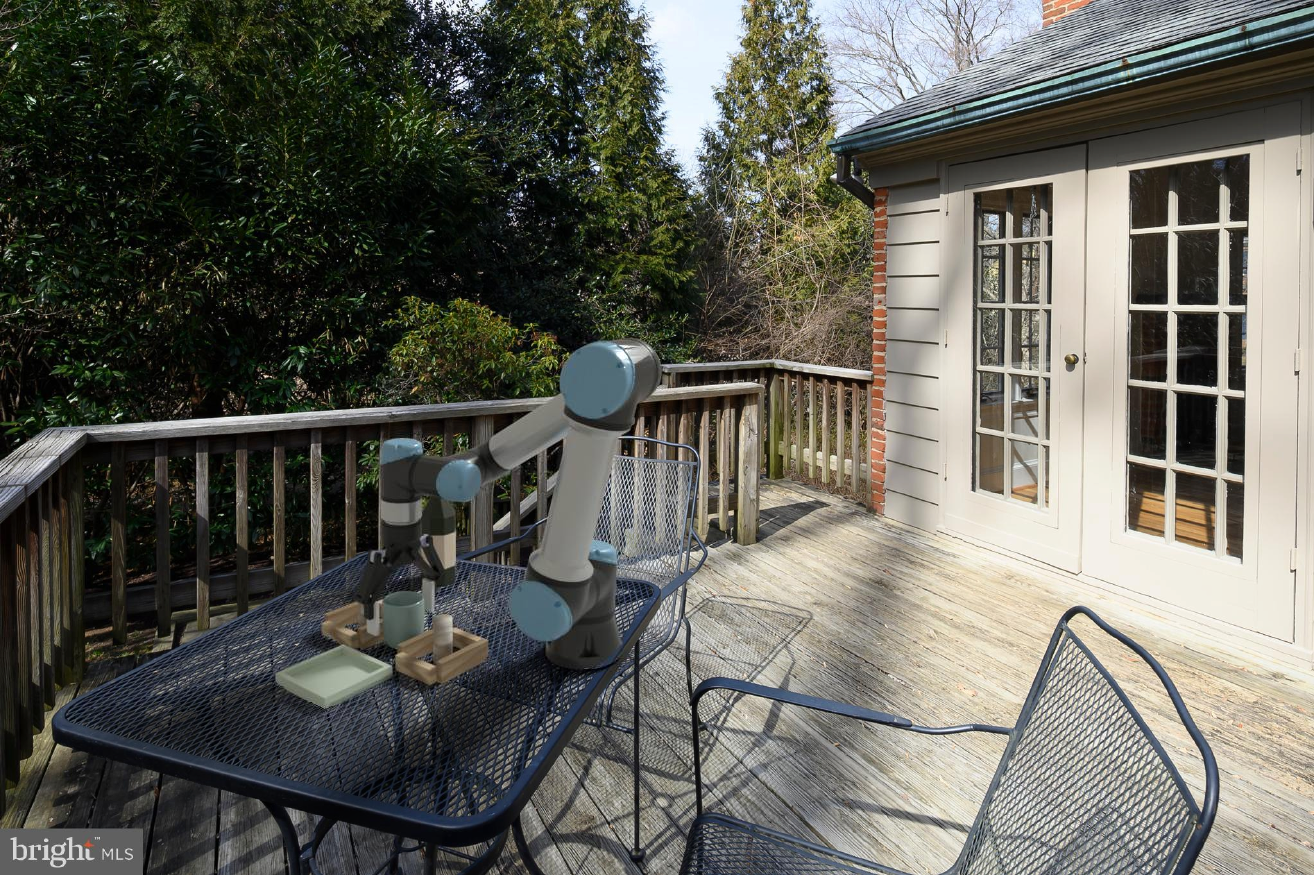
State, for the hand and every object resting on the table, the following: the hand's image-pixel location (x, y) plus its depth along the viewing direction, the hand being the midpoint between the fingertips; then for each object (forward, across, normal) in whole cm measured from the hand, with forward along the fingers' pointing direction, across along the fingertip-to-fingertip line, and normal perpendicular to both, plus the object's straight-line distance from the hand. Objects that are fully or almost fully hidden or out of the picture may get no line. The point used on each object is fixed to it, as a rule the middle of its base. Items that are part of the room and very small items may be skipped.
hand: (401, 621), depth 157 cm
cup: (+5, 0, 0) cm, 5 cm away
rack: (+5, 0, 0) cm, 5 cm away
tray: (+5, +16, +2) cm, 17 cm away
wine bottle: (+6, -28, -19) cm, 34 cm away
